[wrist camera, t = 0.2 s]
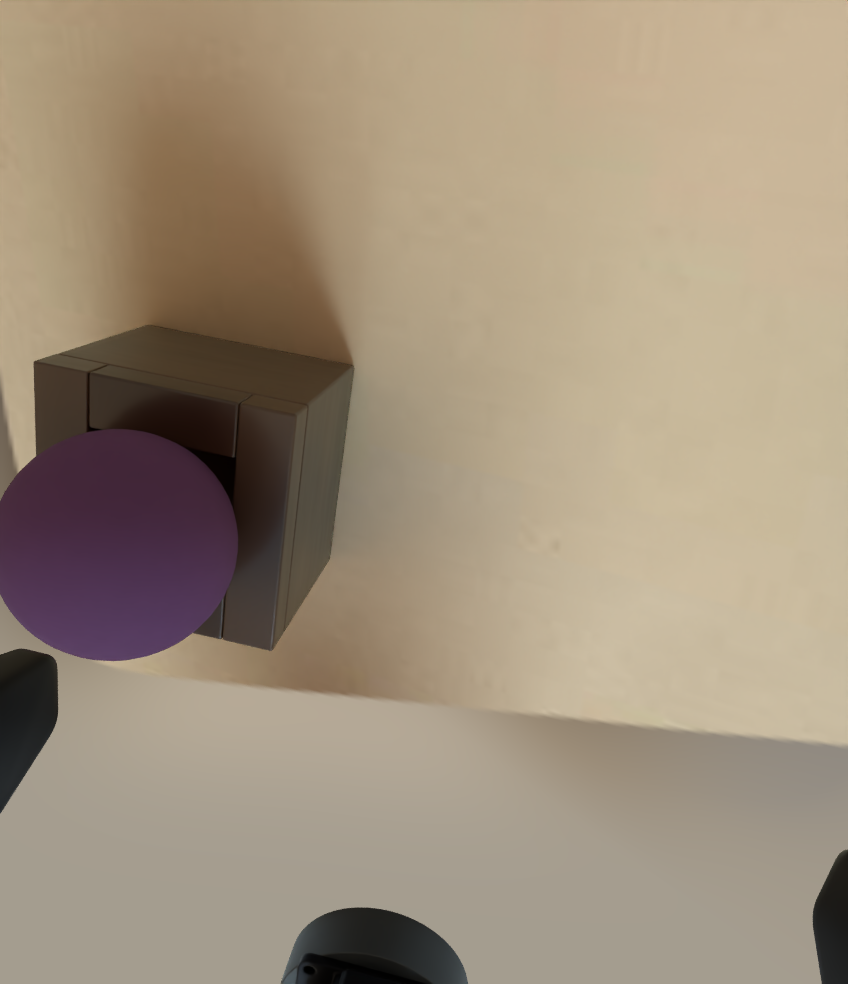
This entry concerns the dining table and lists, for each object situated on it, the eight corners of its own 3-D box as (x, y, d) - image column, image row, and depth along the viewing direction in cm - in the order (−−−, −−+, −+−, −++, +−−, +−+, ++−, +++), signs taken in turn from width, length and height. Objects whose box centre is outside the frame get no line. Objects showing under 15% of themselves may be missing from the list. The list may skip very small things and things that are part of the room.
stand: (330, 559, 28) (272, 652, 22) (141, 518, 28) (39, 597, 23) (355, 365, 25) (297, 414, 19) (146, 324, 26) (32, 360, 20)
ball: (261, 611, 23) (172, 734, 17) (78, 569, 23) (-60, 677, 18) (278, 426, 21) (183, 505, 15) (77, 385, 21) (-80, 448, 16)
